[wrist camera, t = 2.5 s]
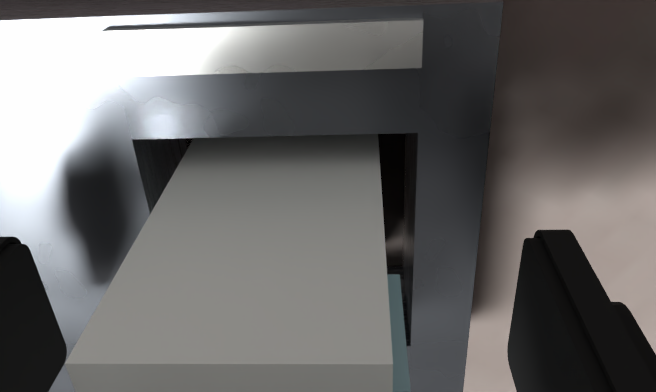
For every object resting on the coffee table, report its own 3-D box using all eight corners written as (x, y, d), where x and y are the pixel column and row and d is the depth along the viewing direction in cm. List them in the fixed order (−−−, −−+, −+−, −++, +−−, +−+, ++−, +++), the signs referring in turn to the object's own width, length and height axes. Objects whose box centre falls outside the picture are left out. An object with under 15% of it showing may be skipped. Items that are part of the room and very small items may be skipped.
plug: (386, 106, 14) (414, 364, 7) (386, 245, 16) (406, 550, 9) (208, 111, 14) (64, 363, 7) (231, 246, 16) (134, 544, 9)
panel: (472, -31, 12) (506, 4, 9) (445, 328, 17) (461, 419, 14) (-332, 1, 13) (-514, 42, 10) (-134, 329, 18) (-221, 413, 16)
